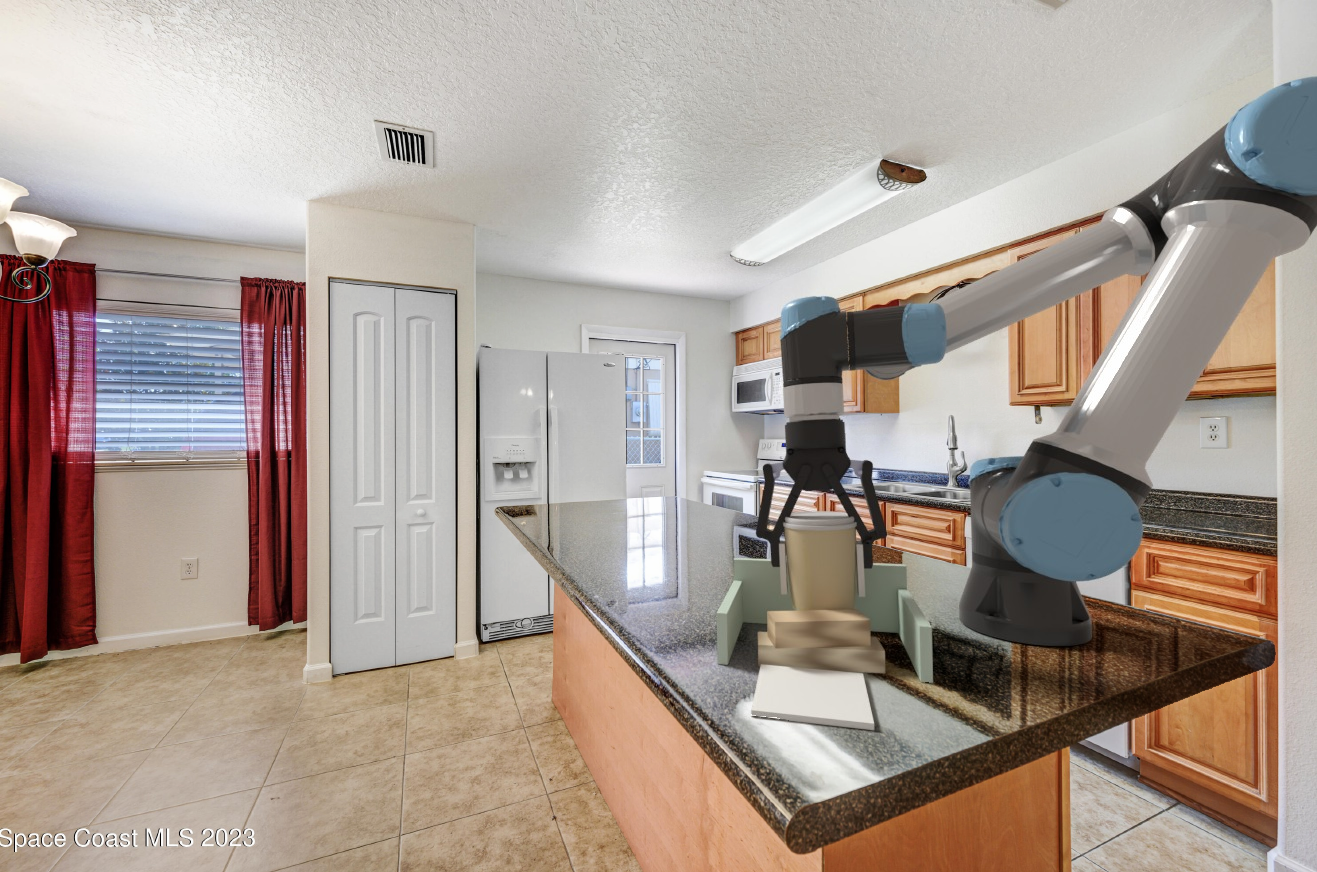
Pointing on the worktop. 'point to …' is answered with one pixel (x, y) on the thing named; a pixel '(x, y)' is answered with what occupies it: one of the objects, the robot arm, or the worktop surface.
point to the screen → (881, 604)
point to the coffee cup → (821, 560)
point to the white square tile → (813, 696)
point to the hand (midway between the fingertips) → (822, 592)
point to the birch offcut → (824, 656)
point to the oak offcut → (818, 628)
